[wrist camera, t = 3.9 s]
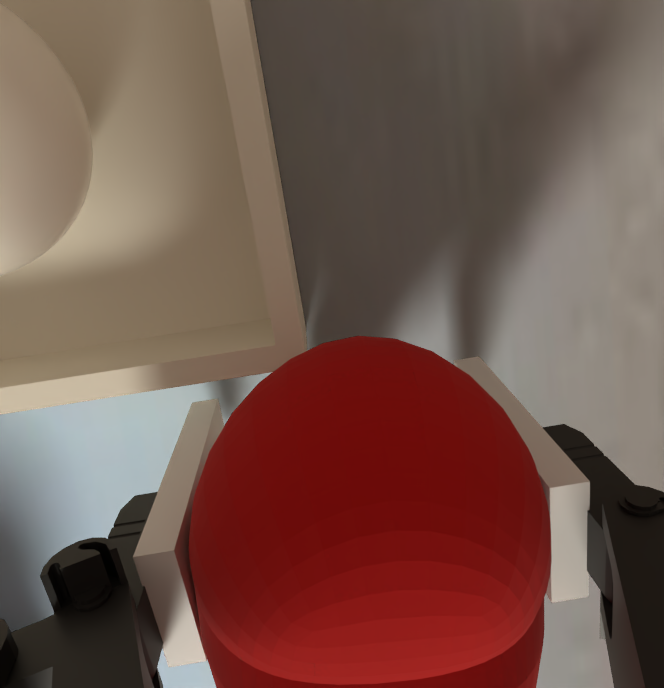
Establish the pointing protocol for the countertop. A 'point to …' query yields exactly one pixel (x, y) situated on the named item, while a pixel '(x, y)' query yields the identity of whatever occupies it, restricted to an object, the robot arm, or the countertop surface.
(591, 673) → the countertop surface
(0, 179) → the egg
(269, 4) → the countertop surface
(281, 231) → the tray
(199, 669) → the countertop surface
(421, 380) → the red rounded piece
